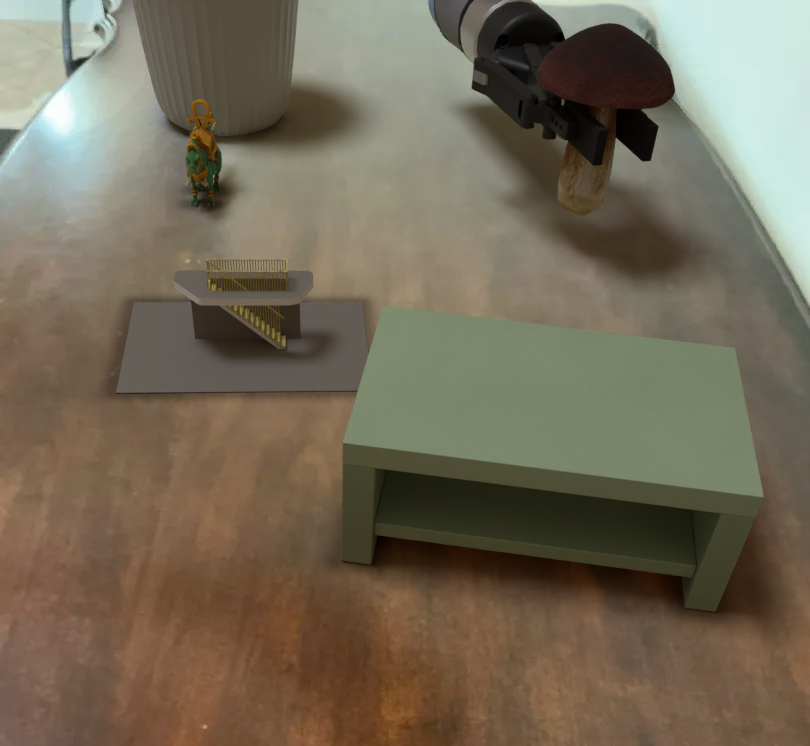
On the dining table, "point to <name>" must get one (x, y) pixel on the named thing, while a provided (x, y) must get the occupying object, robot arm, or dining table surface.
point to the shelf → (552, 447)
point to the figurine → (203, 154)
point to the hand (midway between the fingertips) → (625, 145)
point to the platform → (244, 336)
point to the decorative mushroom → (602, 98)
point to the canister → (220, 59)
